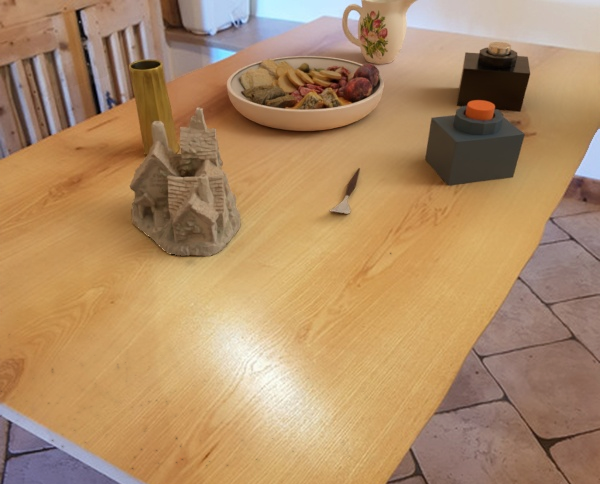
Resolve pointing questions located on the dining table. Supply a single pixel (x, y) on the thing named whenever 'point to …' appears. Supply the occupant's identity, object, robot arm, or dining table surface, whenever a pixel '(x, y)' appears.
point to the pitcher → (379, 28)
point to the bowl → (305, 92)
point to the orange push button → (480, 110)
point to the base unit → (494, 79)
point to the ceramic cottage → (185, 192)
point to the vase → (152, 101)
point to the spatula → (344, 206)
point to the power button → (499, 49)
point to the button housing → (473, 148)
